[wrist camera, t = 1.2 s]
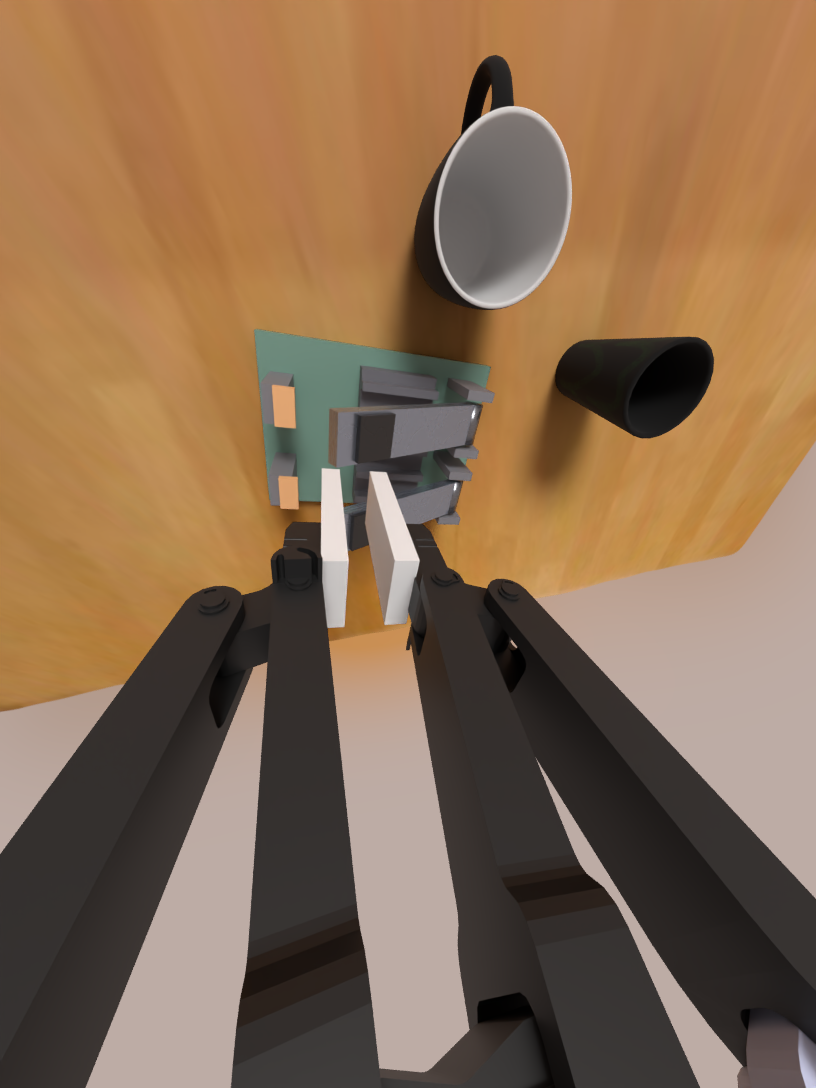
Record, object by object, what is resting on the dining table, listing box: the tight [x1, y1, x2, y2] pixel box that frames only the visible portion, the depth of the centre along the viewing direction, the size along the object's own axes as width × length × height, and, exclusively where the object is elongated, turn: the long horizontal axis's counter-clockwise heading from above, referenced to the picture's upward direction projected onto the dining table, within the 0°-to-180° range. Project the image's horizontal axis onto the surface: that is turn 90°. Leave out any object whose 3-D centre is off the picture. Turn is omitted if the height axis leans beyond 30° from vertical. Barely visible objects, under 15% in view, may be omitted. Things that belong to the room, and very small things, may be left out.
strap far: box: [343, 479, 463, 551], centre depth 31 cm, size 16×4×2 cm
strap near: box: [328, 401, 483, 468], centre depth 27 cm, size 16×4×2 cm
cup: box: [555, 337, 714, 438], centre depth 32 cm, size 8×8×12 cm
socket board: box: [254, 329, 495, 525], centre depth 33 cm, size 22×16×8 cm
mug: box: [414, 55, 572, 310], centre depth 23 cm, size 12×9×10 cm
